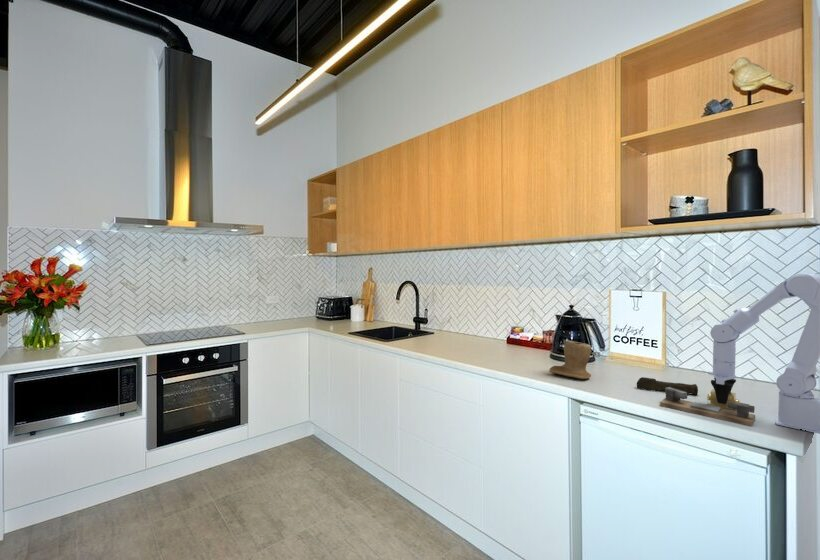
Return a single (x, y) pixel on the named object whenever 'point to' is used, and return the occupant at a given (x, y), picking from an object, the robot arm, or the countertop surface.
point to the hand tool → (665, 385)
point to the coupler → (714, 402)
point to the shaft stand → (709, 408)
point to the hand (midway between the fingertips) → (723, 401)
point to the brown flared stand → (574, 360)
